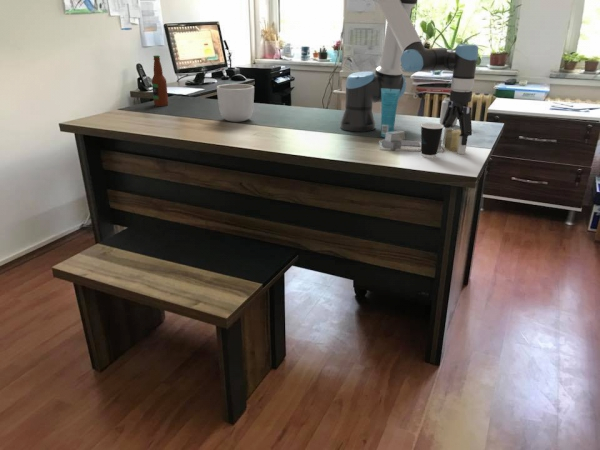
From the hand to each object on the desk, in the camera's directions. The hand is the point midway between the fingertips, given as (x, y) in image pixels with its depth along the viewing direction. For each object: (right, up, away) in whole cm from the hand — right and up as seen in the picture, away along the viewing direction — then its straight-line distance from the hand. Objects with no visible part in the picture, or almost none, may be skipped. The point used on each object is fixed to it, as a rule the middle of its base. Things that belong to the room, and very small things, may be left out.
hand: (453, 148), depth 186 cm
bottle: (-132, +35, +77) cm, 157 cm away
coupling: (0, 0, 0) cm, 0 cm away
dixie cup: (-12, -4, -9) cm, 15 cm away
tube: (-22, +8, +18) cm, 29 cm away
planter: (-87, +20, +44) cm, 100 cm away
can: (+10, +17, +40) cm, 44 cm away
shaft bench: (-16, +1, +3) cm, 16 cm away
